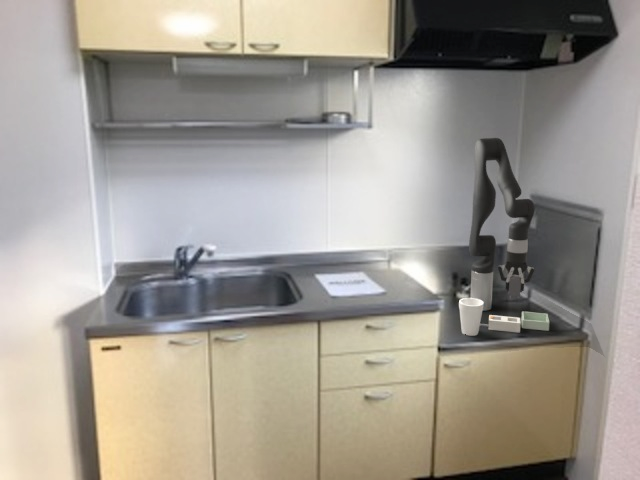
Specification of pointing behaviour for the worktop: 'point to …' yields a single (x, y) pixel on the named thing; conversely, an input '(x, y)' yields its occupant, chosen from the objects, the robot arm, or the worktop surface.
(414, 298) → the worktop surface
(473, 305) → the foam cup
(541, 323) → the tray
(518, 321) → the power strip
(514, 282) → the block
